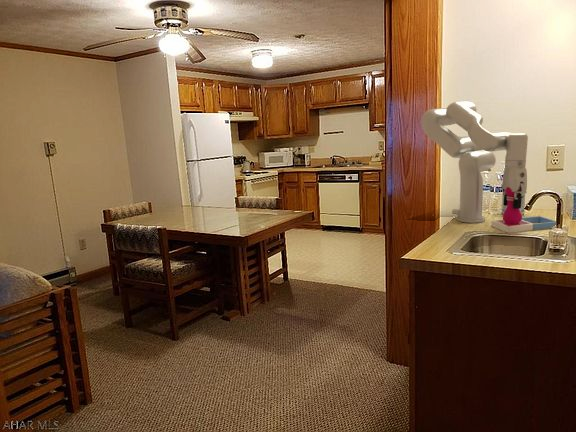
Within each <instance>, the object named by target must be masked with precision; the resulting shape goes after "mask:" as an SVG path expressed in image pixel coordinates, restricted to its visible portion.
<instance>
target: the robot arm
mask: <svg viewBox="0 0 576 432" xmlns="http://www.w3.org/2000/svg"><path fill="white" fill-rule="evenodd" d="M483 122H484V118H483V116H482V115H481V114H480V113H477V107H476V105H475V103H473V102H471V101H468V100H467V101H466V100H465V101H464V100H463V101H454V102H452V103H450V104H449V105H448V106H447V107H440V108H431V109H428V110H426V111H425V112H424V113H423V115H422V116H421V127H422V128H421V129H422V130H423V132H424V133H425V134H424V135H426V136H427V137H428V138H429V139H430V140H432V141H433V142H434V143H436V145H438V146H439V148H440V149H442V150H443V151H444V152H445V153H446V154H447V155H449V156H450V157H452V158H455V159H458V158H459V160H458V170H459V175H460V177H459V178H460V179H459V180H460V183H459V187H460V190H459V209H455V208H453V209H452V211H451V213H452V214H453V215H456V216H455V220H456V221H458V222H461V223H468V224H469V223H470V224H477V223H478V224H479V223H484V222H485V221H486V217H485V215H484V216H483V201H484V200H483V196H484V179H483V176H482V173H481V172H484V171H488V170H491V169H492V168H493V167H494V166H495V165H496V155H495V154H494V153H493V152H500V151H505V158H504V159H505V160H504V169H503V175H502V184H501V186H500V187H501V190H502V196H504V203H503V205H504V206H506V205H507V204H508V200H507V194H506V192H505V190H506V188H507V187H509V188H511V190H512V192H514V197H515V199H514V200H513V209H519V208H521V201H522V199H523V196H524V195H525V196H526V194H527V188H528V170H527V168H526V165H527V153H528V141H529V140H528V139H529V136H528V134H527V133H524V132H507V131H501V132H492V133H491V132H489V131H488V130H487V129H485V128H484V127H482V124H483ZM453 125H458V126H459V127H460V128H462V129H463V130H464V131H466V132H467V135H468V136H467V135H466V136H458V135H457V134H455V133H454V132H453V131H452V130H450V129H449V128H447V126H453ZM445 126H446V127H445ZM518 190H520V191H518ZM517 191H518V192H517ZM517 193H519V194H518V196H517Z"/></svg>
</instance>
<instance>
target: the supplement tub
mask: <svg viewBox="0 0 576 432" xmlns="http://www.w3.org/2000/svg"><path fill="white" fill-rule="evenodd" d="M525 202H526V194H525V195H524V196H523V199H522V201H521V208H519V210H520V212H521V215H522V216H523V215H524V213H525V209H526V208H525V206H526V205H525V204H526V203H525ZM501 203H502V205H501V213H502V215H503V214H504V212H505V210H506V208H507V205H506V206H504V205H503V203H504V196H503V195H502V201H501ZM524 208H525V209H524Z"/></svg>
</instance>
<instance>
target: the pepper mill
mask: <svg viewBox="0 0 576 432" xmlns="http://www.w3.org/2000/svg"><path fill="white" fill-rule="evenodd" d="M518 191H520V190H518ZM518 191H517V192H518ZM505 192H506V194H507V200H508V204H507V208H506V210H505V212H504V214H503V213H502V219H503V220H504V221H505V223H504V224H505V225H507V226H514V225H520V223H519V222H520V221H521V220H522V218H523V214H522V215H521V212H520V210H519V209H513V200H514V199H515V197H514V192H512V190H511V188H509V187H507V188H506V190H505ZM518 194H519V193H517V196H518Z"/></svg>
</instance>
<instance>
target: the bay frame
mask: <svg viewBox="0 0 576 432" xmlns="http://www.w3.org/2000/svg"><path fill="white" fill-rule="evenodd" d="M556 221H557V220H554V219H551V218H548V217H545V216H541V215H537V216H524V217H523V216H522V220H521V221H520V222H519V223H520V225H514V226H507V225H505V224H504V223H505V221H504V220H503V218H502V219H493V220H491V221H490V222H491V224H490V226H491V227H493V228H495V229H498V230H500V231H502V230H503V232H505V233H507V234H508V233H517V232H519V233H520V232H529V231H538V230H539V229H540V230H548V229H549V230H550V228H551V227H553V226H555V225H556ZM551 229H552V228H551Z"/></svg>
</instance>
